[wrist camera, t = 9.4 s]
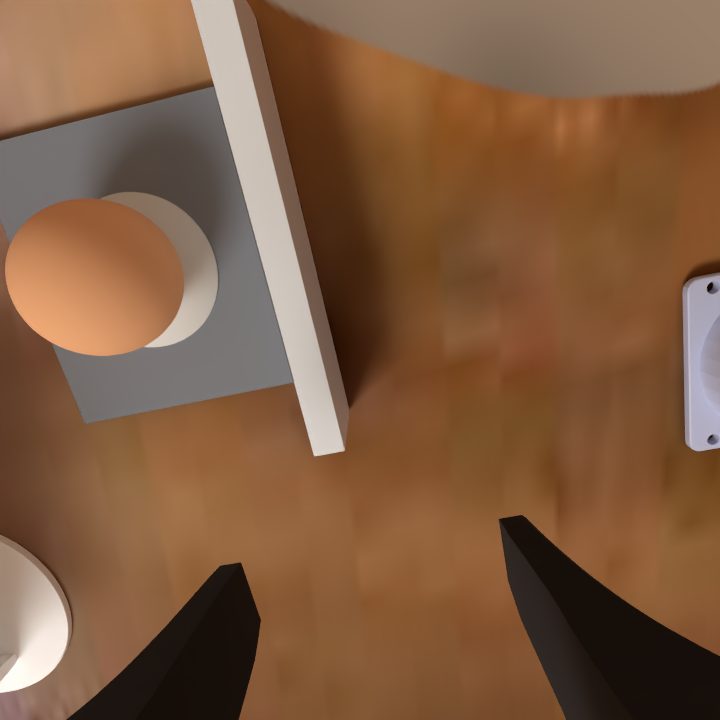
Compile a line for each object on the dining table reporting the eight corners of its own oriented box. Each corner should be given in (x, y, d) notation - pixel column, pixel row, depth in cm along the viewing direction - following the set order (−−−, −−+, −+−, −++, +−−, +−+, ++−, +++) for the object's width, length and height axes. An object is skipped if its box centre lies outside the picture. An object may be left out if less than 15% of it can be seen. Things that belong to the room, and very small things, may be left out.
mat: (217, 89, 18) (212, 85, 17) (295, 379, 21) (292, 383, 20) (-20, 150, 18) (-32, 148, 18) (91, 419, 22) (84, 424, 21)
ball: (182, 188, 18) (98, 172, 13) (222, 322, 19) (163, 358, 14) (55, 218, 19) (-75, 216, 13) (104, 346, 20) (5, 390, 15)
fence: (255, 16, 17) (221, -45, 13) (349, 410, 21) (344, 450, 17) (224, 25, 17) (181, -34, 13) (324, 414, 21) (314, 456, 17)
